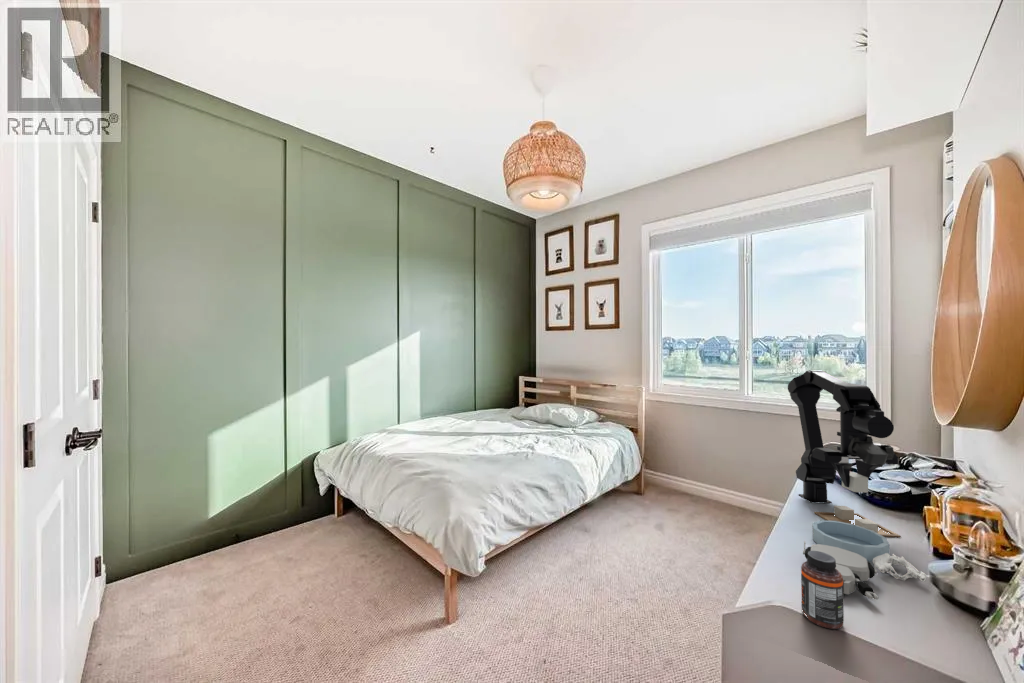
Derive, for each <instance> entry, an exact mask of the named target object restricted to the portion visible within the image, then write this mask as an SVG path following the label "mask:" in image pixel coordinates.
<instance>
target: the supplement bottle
mask: <svg viewBox="0 0 1024 683" xmlns="http://www.w3.org/2000/svg"><path fill="white" fill-rule="evenodd" d="M807 559H808V560H807ZM807 559H806V561H804V562H802V563H801V566H800V568H801V569H800V571H801V572H800V574H801V575H800V577H801V580H800V582H801V585H800V586H801V589H800V590H801V611H802V610H803V612H804V613H805V614H806V615H807V617H808V621H810V622H811V623H813V624H815V625H817V626H819V627H822V628H826V629H830V630H838V628H839V629H841V628H842V627H843V626H844V621H845V620H844V617H845V616H844V612H845V611H844V592H843V577H842V575H841V573H840V572H839V571H838V570H837V569H836V560H835V558H834V557H832V556H831V555H829V554H827V553H824V552H820V551H809V552H808V557H807ZM803 612H802V613H803Z"/></svg>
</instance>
